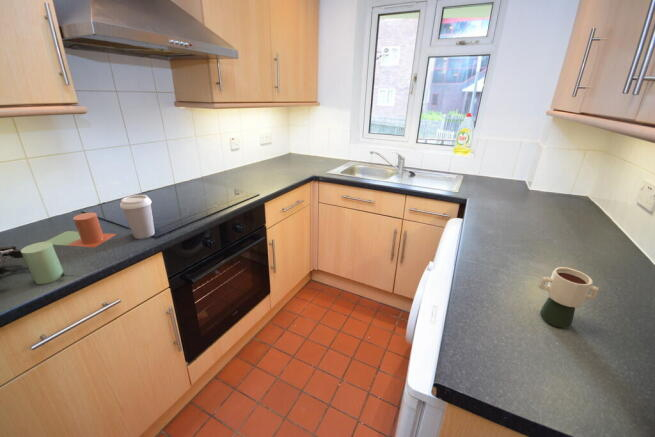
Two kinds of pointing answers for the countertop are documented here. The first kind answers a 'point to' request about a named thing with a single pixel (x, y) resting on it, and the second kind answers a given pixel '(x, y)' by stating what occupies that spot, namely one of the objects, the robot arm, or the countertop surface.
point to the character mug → (565, 295)
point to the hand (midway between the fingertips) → (16, 261)
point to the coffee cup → (139, 215)
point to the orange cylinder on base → (88, 228)
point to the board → (75, 239)
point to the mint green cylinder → (42, 262)
